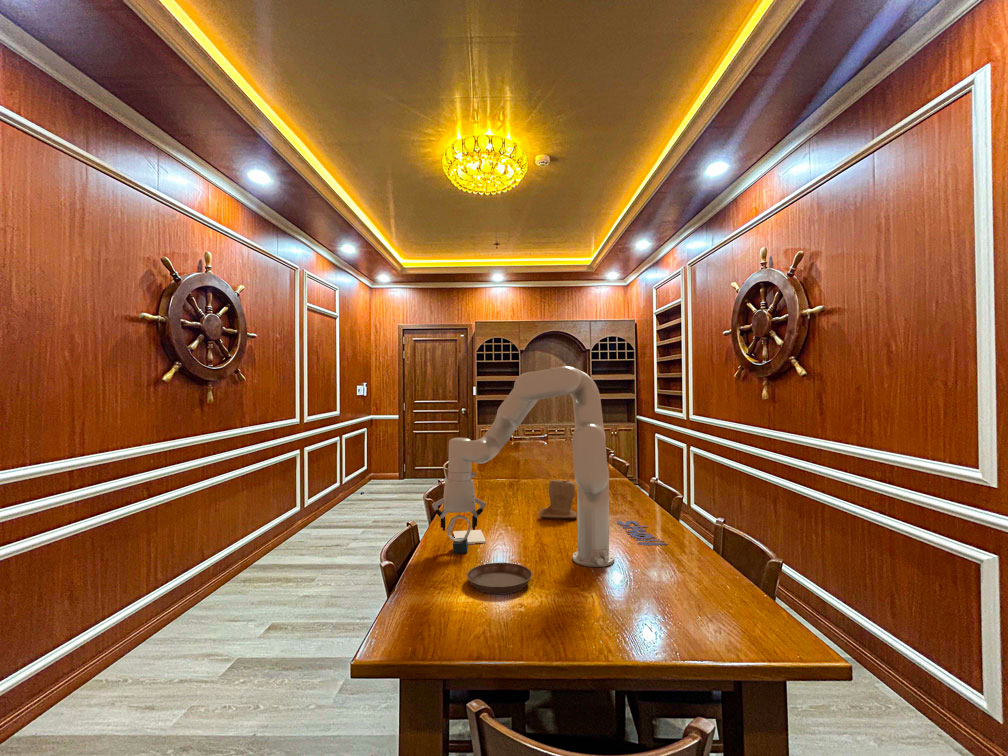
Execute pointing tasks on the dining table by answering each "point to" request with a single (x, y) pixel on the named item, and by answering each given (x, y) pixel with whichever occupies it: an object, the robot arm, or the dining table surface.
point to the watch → (459, 543)
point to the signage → (636, 534)
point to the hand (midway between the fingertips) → (458, 529)
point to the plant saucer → (499, 577)
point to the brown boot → (560, 500)
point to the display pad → (471, 536)
